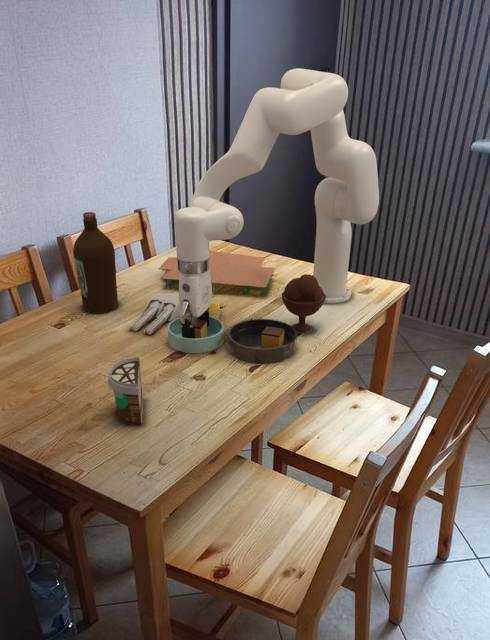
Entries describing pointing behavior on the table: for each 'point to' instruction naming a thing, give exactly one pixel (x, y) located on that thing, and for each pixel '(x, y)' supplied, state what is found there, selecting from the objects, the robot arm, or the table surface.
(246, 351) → the charcoal bowl
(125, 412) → the food container
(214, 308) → the bread roll
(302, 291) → the ice cream bowl
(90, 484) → the table surface
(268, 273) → the house
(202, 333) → the snack cake
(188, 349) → the blue bowl
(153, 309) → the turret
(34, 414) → the table surface
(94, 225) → the olive oil
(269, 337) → the snack cake
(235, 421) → the table surface
